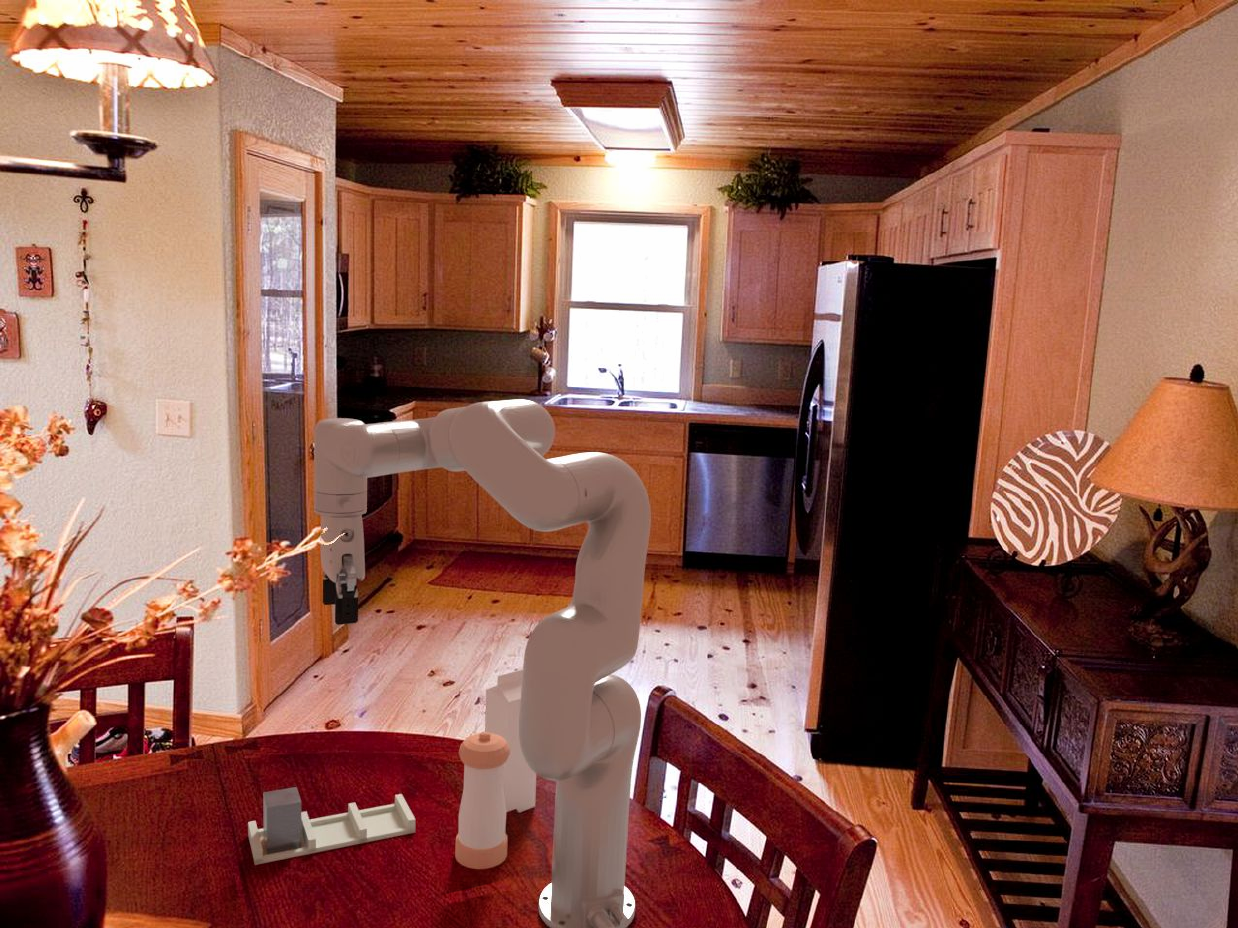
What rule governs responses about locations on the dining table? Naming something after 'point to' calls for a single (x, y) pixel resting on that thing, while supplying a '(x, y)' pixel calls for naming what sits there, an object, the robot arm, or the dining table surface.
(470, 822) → the pepper shaker
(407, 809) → the white compartment tray
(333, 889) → the dining table surface
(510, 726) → the milk
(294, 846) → the tall gray pillar
